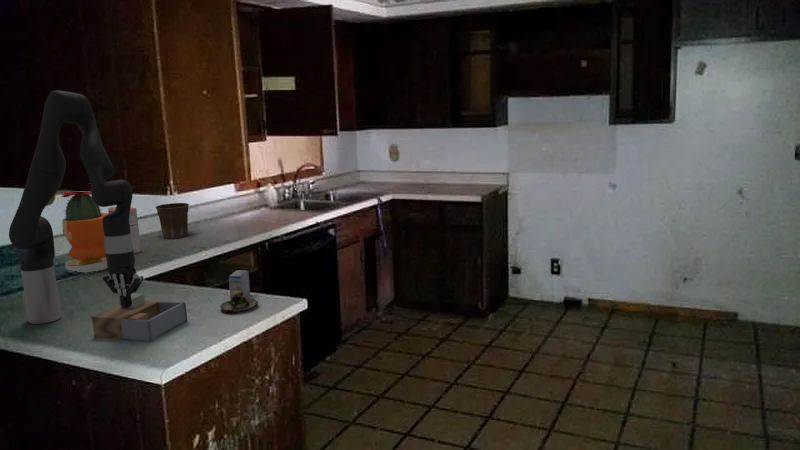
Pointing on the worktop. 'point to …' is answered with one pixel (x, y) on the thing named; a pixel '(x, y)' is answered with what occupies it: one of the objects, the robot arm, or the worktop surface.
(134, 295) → the tile sage
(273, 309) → the worktop surface
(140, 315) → the tile terracotta
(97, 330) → the wooden block
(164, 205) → the plant pot
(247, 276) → the medicine box
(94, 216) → the potted cactus
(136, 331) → the tray
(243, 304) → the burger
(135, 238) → the cracker box
